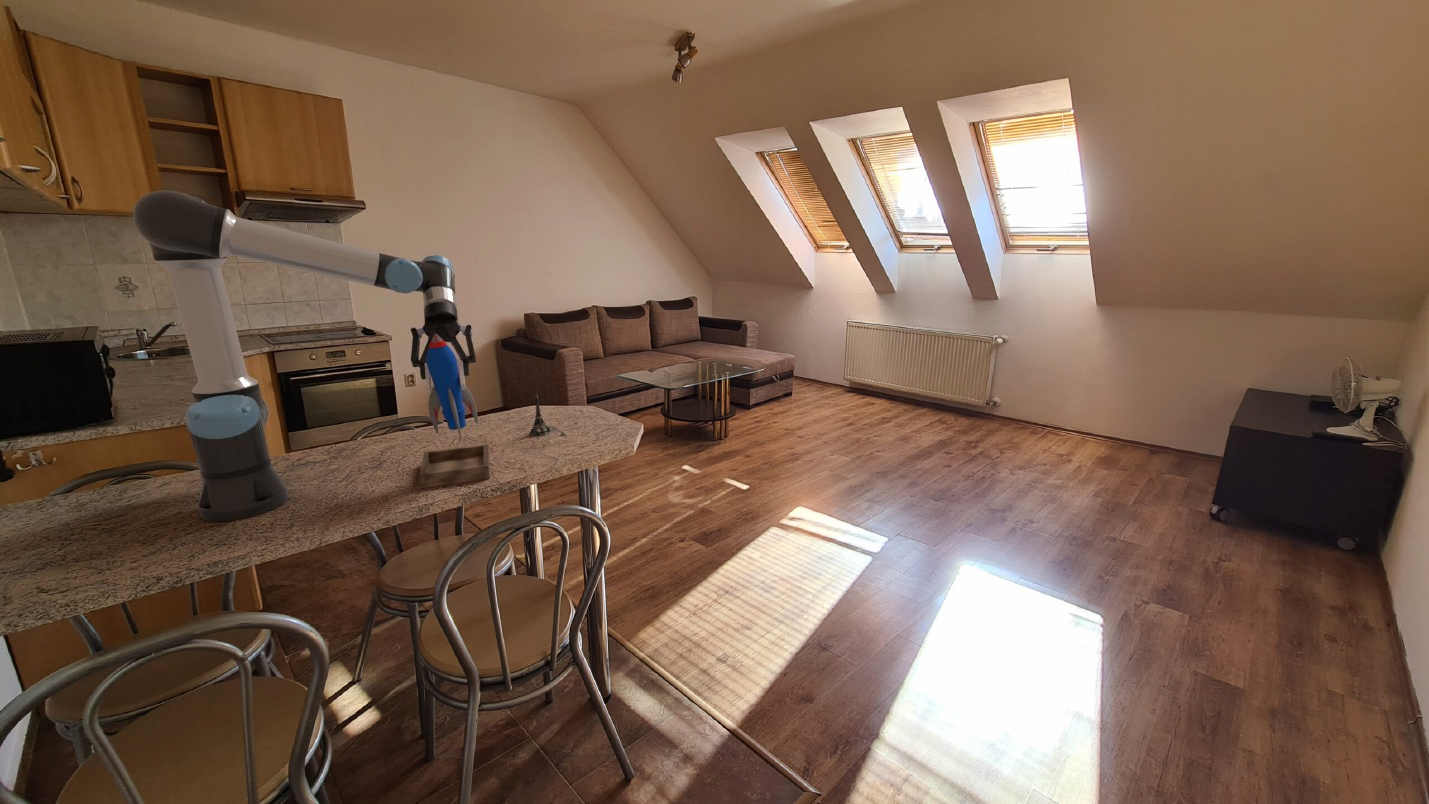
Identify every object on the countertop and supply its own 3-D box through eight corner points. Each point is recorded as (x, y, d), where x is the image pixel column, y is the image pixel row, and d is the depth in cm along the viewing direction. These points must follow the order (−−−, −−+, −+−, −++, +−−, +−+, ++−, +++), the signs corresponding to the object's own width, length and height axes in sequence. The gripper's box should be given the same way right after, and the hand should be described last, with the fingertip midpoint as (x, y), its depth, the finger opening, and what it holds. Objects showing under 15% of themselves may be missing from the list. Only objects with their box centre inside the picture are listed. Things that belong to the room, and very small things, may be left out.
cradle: (420, 488, 134) (418, 475, 133) (426, 463, 148) (424, 451, 148) (489, 478, 139) (488, 465, 139) (488, 456, 154) (487, 444, 153)
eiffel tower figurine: (568, 437, 170) (565, 393, 166) (535, 444, 164) (531, 399, 160) (548, 424, 181) (544, 383, 177) (516, 431, 175) (511, 388, 171)
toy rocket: (463, 441, 136) (438, 339, 127) (423, 443, 137) (395, 341, 127) (481, 423, 146) (459, 327, 137) (443, 425, 147) (419, 329, 138)
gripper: (483, 317, 151) (492, 392, 141) (399, 321, 144) (402, 400, 135) (481, 298, 145) (490, 375, 135) (393, 302, 138) (395, 383, 128)
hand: (446, 388), depth 135 cm, fingers closed on toy rocket, 7 cm apart
